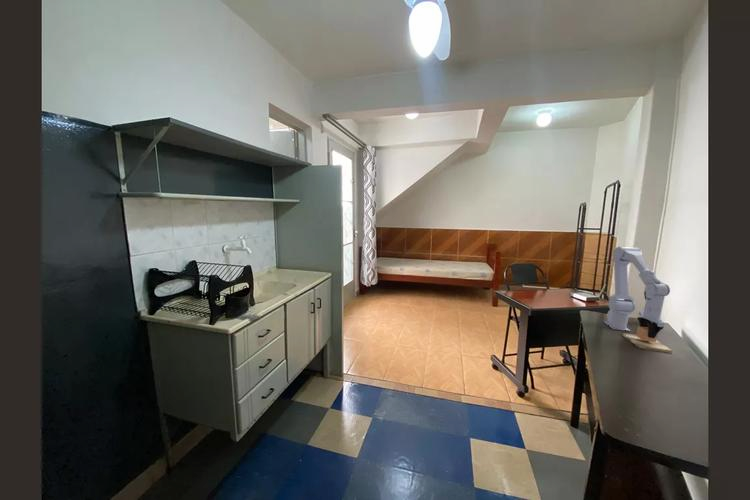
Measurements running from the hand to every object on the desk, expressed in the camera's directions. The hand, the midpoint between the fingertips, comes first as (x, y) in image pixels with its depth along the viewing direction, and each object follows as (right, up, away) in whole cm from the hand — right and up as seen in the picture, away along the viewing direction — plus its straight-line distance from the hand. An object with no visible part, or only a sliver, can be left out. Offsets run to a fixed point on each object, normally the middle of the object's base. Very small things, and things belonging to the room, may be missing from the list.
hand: (647, 335), depth 133 cm
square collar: (0, -2, 0) cm, 2 cm away
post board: (0, -4, +1) cm, 4 cm away
